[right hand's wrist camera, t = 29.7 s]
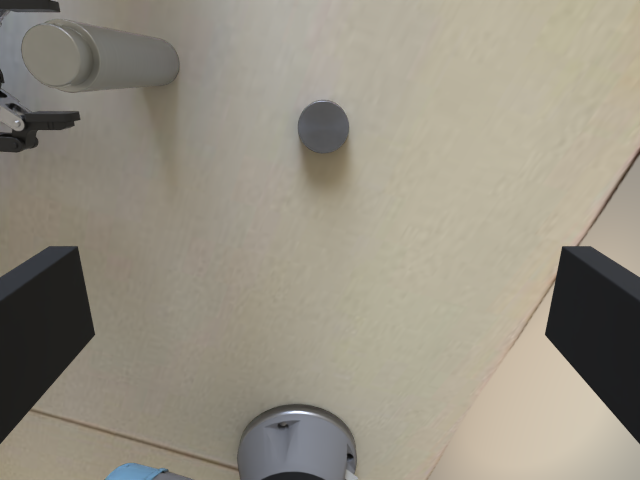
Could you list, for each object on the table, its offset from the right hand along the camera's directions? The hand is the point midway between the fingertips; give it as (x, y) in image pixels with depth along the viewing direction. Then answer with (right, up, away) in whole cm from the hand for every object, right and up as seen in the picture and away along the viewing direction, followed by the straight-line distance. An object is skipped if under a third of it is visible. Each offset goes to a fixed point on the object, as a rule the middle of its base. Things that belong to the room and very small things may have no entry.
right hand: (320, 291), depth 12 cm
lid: (0, +12, +31) cm, 33 cm away
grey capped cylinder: (-15, +18, +30) cm, 39 cm away
